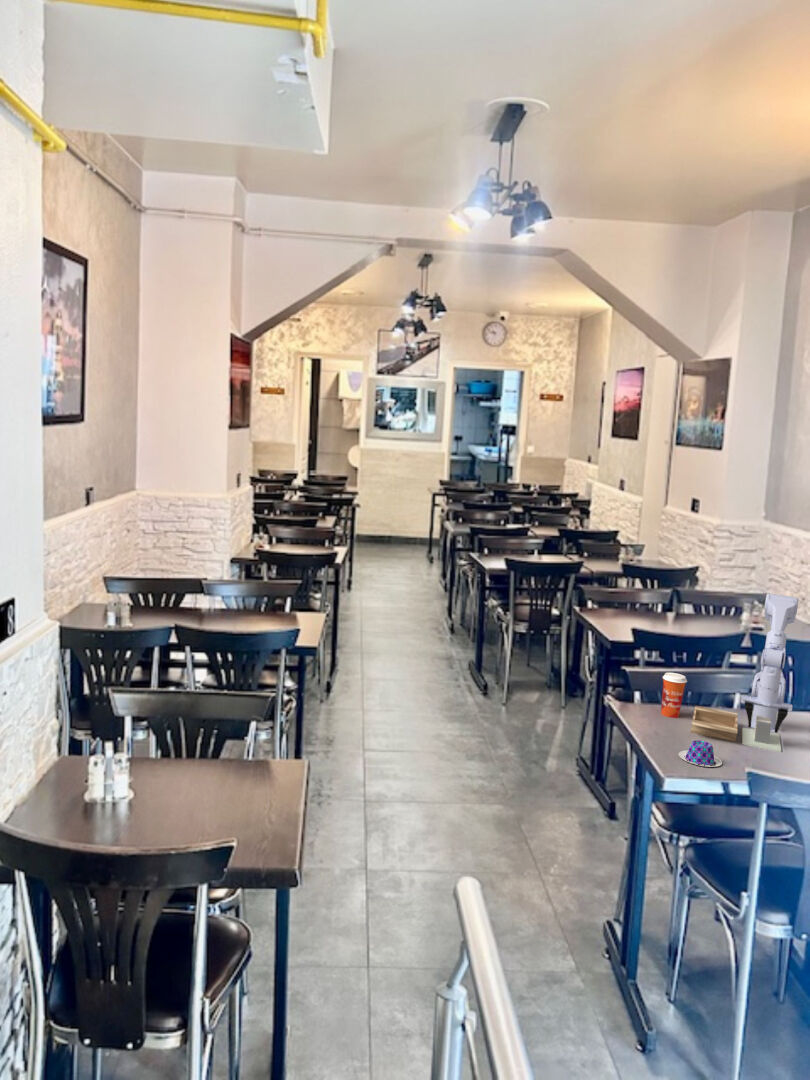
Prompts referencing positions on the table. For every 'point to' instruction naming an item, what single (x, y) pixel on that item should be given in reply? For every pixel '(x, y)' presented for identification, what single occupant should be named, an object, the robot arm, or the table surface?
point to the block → (762, 729)
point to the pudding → (700, 754)
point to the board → (749, 740)
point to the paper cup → (672, 694)
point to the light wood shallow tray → (715, 723)
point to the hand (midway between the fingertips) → (762, 729)
